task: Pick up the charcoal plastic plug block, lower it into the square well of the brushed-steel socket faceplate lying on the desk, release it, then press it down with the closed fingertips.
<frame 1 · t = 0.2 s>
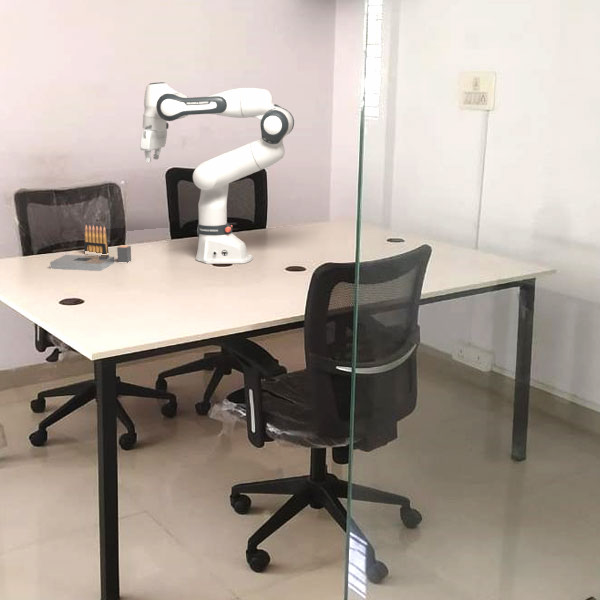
hand: (152, 160, 354), 38 cm above the table, tool pointing down, fingers open, 8 cm apart
plug: (124, 261, 355), on the table
socket plate: (83, 265, 348), on the table
ammunition clip: (96, 255, 368), on the table
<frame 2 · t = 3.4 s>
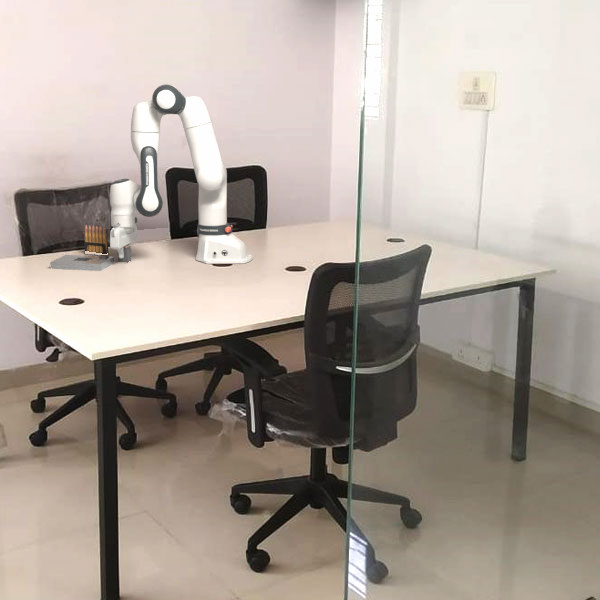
hand: (124, 256, 355), 2 cm above the table, tool pointing down, fingers closed on plug, 4 cm apart
plug: (124, 261, 355), on the table, touching gripper
everything else where it was.
when the fingers open (3 cm above the table, at t = 7.9 s): plug stays where it is, resting on socket plate.
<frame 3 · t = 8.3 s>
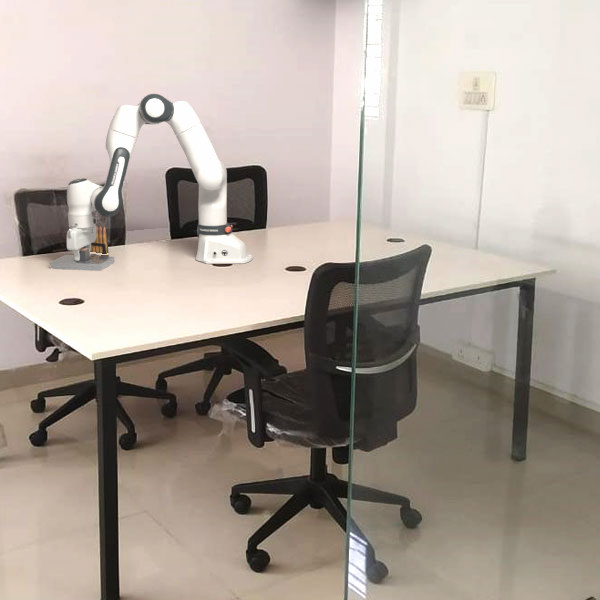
hand: (82, 257, 347), 3 cm above the table, tool pointing down, fingers open, 8 cm apart
plug: (82, 264, 348), resting on socket plate
everything else where it was.
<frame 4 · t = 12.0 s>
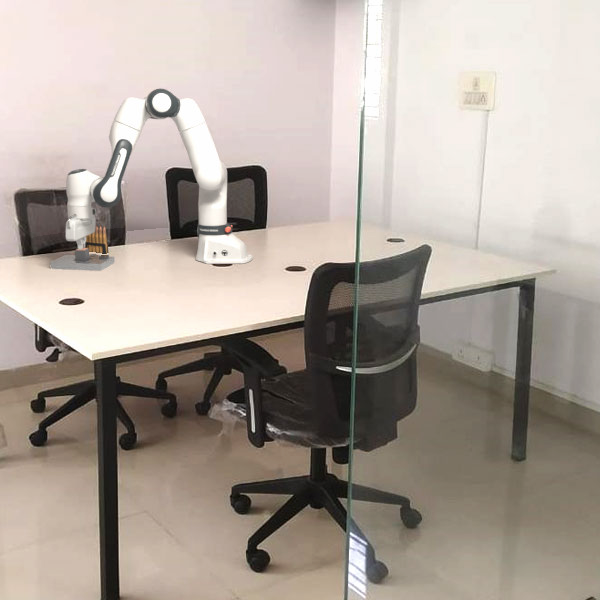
hand: (81, 248, 346), 7 cm above the table, tool pointing down, fingers closed, pressing on plug
plug: (82, 264, 348), resting on socket plate, touching gripper
everything else where it was.
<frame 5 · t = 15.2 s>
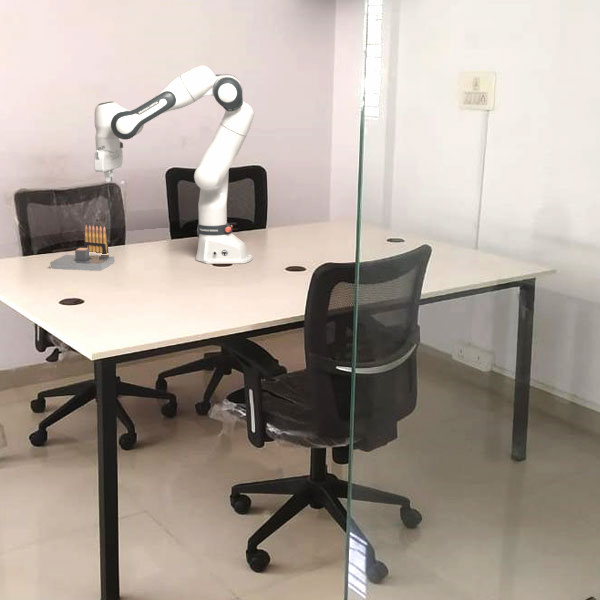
hand: (109, 181, 349), 31 cm above the table, tool pointing down, fingers closed
plug: (82, 264, 348), resting on socket plate
everything else where it was.
at the end: plug 0.0 cm off-centre on the socket plate, point 0.3 cm above the socket plate's base; plug tilted 0°; the gripper is holding nothing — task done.
